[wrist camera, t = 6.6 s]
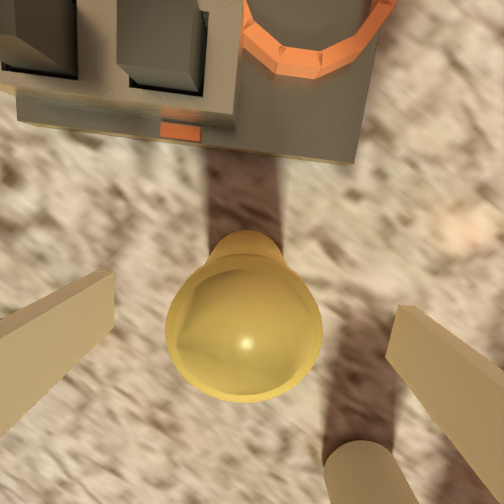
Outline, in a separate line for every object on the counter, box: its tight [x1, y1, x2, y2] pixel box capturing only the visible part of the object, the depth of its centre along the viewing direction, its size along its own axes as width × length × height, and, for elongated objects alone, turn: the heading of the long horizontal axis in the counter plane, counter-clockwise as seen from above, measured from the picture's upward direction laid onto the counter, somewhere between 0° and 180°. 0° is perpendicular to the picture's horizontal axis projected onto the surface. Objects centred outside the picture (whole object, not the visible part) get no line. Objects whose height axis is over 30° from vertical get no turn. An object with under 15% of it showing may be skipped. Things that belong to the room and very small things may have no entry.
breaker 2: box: [116, 0, 207, 97], centre depth 13 cm, size 3×3×4 cm
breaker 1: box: [0, 0, 78, 81], centre depth 12 cm, size 3×3×4 cm
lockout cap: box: [165, 230, 323, 403], centre depth 16 cm, size 6×6×10 cm
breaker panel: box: [0, 0, 380, 165], centre depth 15 cm, size 21×13×5 cm, turn 83°
